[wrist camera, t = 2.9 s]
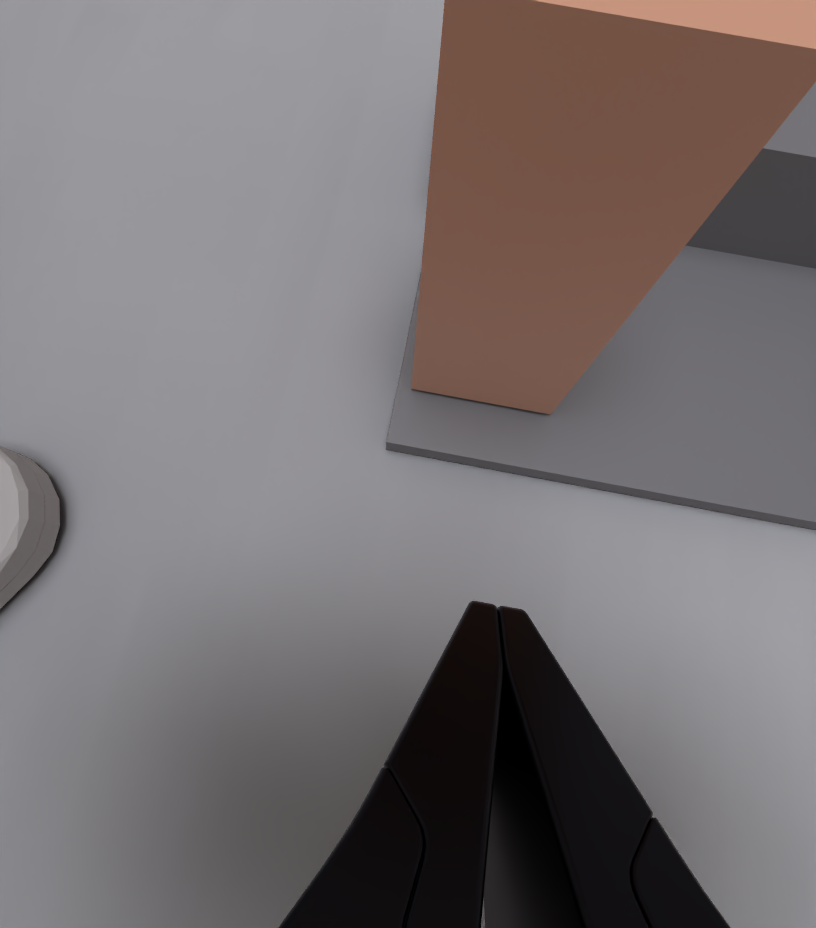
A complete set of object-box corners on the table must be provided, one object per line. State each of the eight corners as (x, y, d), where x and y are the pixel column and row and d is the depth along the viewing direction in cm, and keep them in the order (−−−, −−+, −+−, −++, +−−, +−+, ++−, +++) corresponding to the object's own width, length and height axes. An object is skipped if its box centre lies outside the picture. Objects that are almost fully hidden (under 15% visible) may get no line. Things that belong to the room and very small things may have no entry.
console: (987, 562, 22) (1239, 540, 15) (386, 449, 22) (384, 381, 16) (967, 188, 25) (1161, 45, 19) (457, 98, 26) (479, -71, 19)
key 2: (550, 414, 21) (838, 53, 8) (411, 388, 21) (445, -14, 8) (564, 313, 22) (840, -169, 8) (430, 288, 22) (492, -227, 9)
